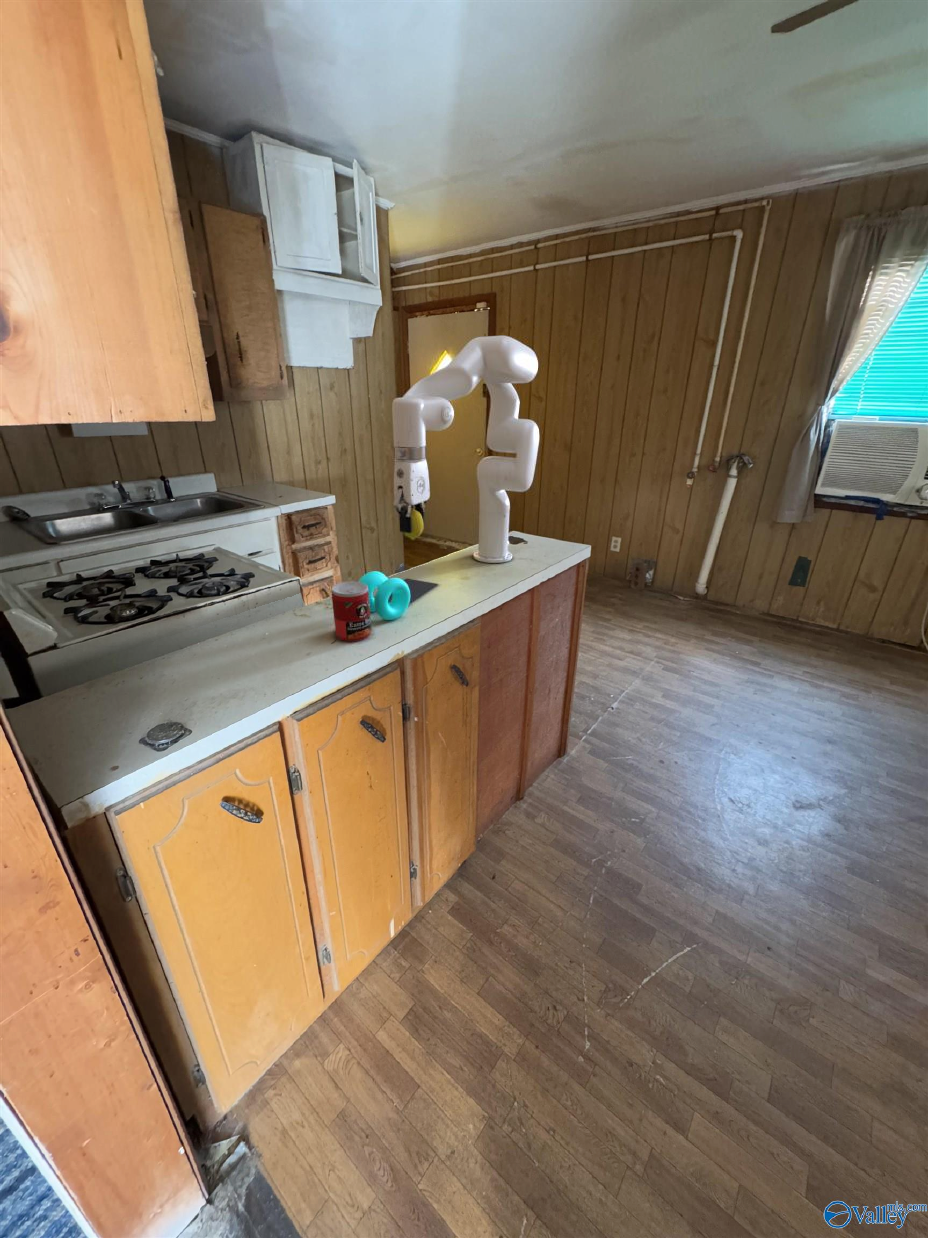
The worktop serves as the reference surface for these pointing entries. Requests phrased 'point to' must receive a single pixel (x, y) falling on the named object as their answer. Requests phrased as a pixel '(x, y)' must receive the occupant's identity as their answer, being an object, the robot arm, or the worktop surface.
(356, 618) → the canned food
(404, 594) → the donuts
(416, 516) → the lemon
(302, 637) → the worktop surface
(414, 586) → the mat
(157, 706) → the worktop surface
